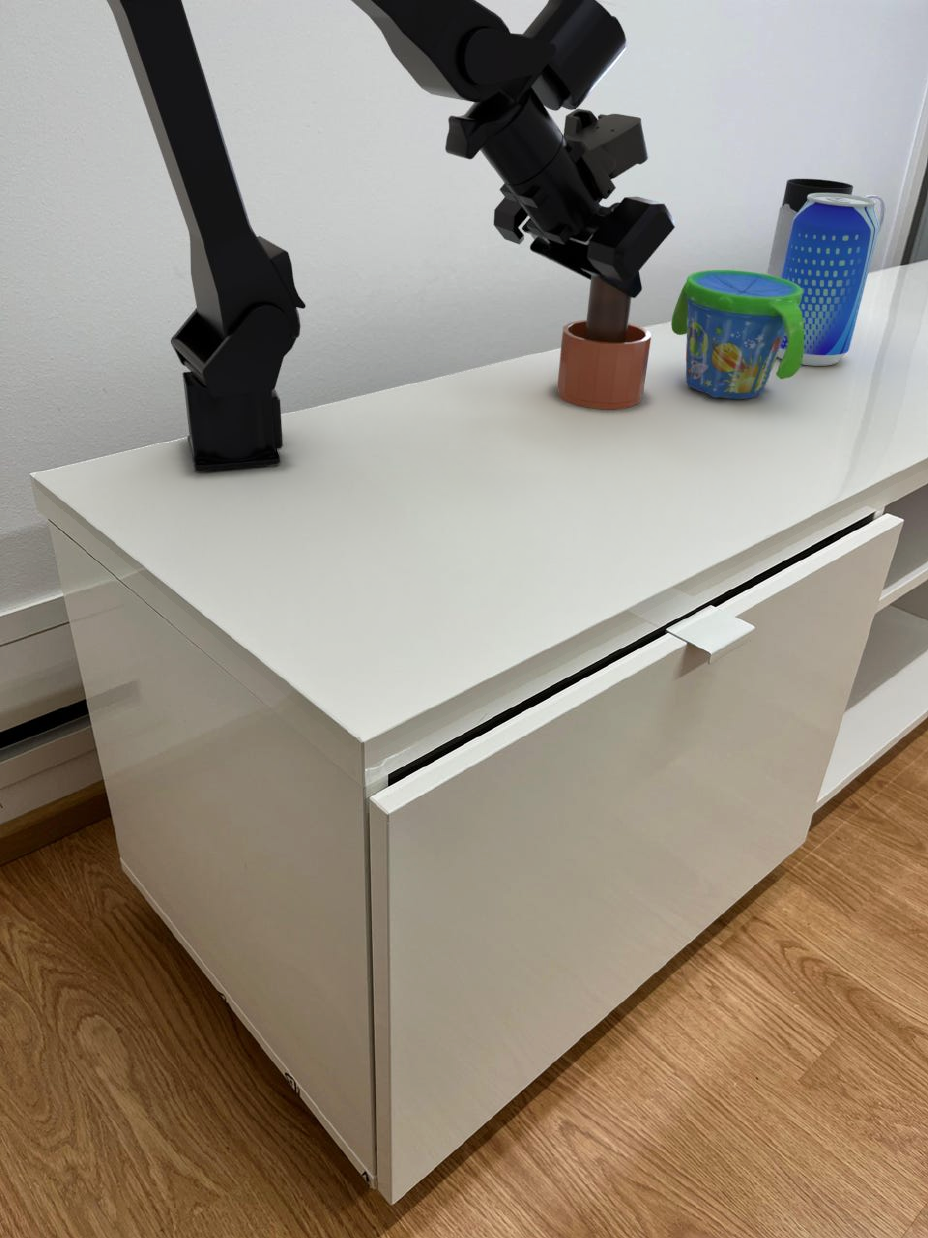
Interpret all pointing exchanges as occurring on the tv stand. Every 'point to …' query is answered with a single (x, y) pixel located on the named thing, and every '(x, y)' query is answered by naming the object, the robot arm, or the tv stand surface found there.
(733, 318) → the snack cup
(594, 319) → the brown thermos bottle
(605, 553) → the tv stand surface
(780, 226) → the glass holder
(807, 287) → the beer can
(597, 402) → the terracotta cup
